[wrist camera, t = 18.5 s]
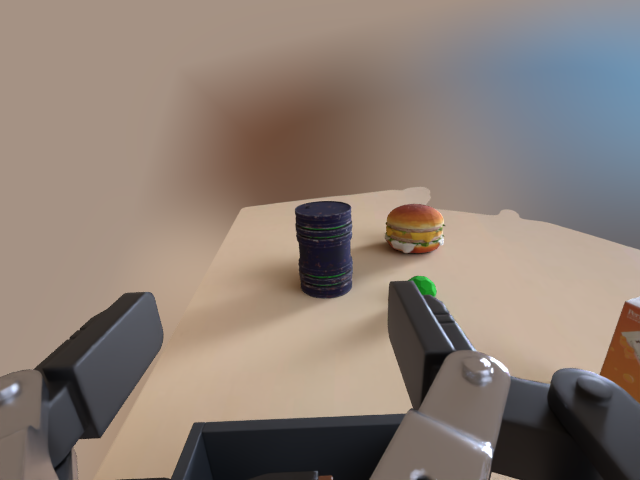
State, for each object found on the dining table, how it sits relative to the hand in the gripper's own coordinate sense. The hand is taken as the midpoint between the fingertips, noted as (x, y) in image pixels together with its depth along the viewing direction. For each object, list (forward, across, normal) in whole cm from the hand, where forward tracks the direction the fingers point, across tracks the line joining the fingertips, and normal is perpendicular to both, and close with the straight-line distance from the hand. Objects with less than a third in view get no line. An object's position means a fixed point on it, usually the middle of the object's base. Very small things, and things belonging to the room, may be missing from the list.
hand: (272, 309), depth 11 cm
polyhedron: (+36, -17, +23) cm, 46 cm away
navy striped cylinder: (+44, -2, +23) cm, 50 cm away
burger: (+61, -24, +23) cm, 69 cm away
